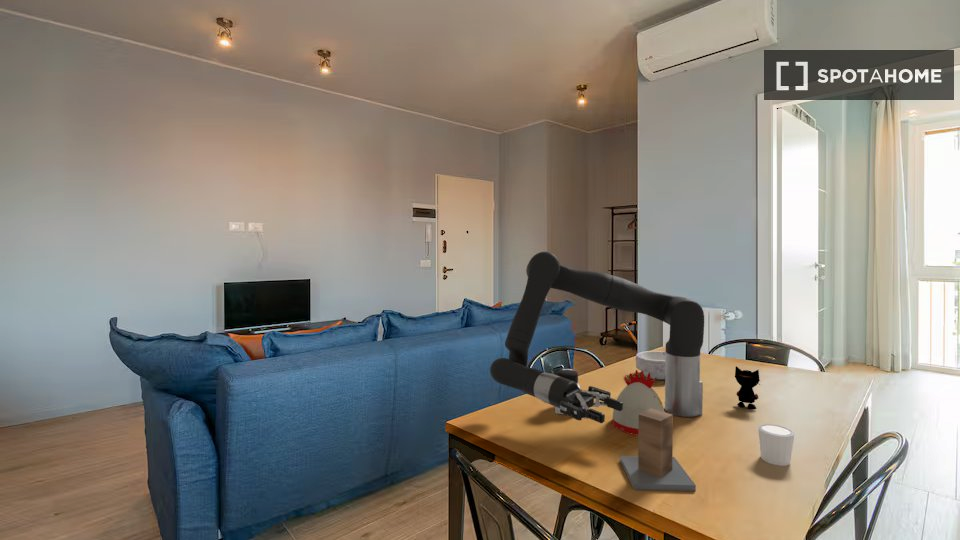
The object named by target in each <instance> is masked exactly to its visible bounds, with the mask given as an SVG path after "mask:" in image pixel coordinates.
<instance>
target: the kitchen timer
mask: <svg viewBox="0 0 960 540" xmlns="http://www.w3.org/2000/svg"><path fill="white" fill-rule="evenodd" d="M639 376H640V377H639ZM623 378H624V382H625V384H626V386H625V387H624V388H623V389H622V390H621V391H620V393H619V395H618V397H617V399H616V400H618V401H621V402H623V410H621V411H618V410H615V409H613V412H612V424H614V425H613V426H614V428H616V427H617V430H619V429H620V431H621V430H622V432H624V431H625V432H624V433H627V432H628V434H630V433H632V434H631V435H635V434H637V436H638V428H639V414H640V413H642V412H644V411H646V410H648V409H655V410H658V411H662V412H665V408H664V406H663V402H662V401H661V398H660V397H659V395H658V393H657V392H656V391H655V389H653V385H654V384H655V382H656V380H657V379H656V378H655V379H651V378H650V372H649V374H648V376H647V377H645V376H644V374H643V371H641V370H640V375H639V370H638V369H636V370H635V372H634V375H633V373H632V372H630V373H629V380H628V378H627V377H626V376H624V377H623Z"/></svg>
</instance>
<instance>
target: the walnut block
mask: <svg viewBox="0 0 960 540" xmlns="http://www.w3.org/2000/svg"><path fill="white" fill-rule="evenodd" d="M673 427H674V415H673V414H670V413H668V412H666V411H664V412H662V411H658V410H655V409H648V410H646V411H644V412H642V413H640V414H639V428H638V435H637V436H638V437H637V439H638V441H637V443H638V445H637V446H638V447H637V448H638V451H637V452H638V455H637V456H638V469H639V470H642V471H644V472H647V473H649V474H652V475H654V476H657V477H659V478H661V477H663V476H664V475H666V474H667V473H669V472H670V471H671V470H672V457H673V453H674V452H673V450H674V449H673V442H674V441H673V437H674V436H673V435H674V429H673Z"/></svg>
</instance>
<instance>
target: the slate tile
mask: <svg viewBox="0 0 960 540" xmlns="http://www.w3.org/2000/svg"><path fill="white" fill-rule="evenodd" d="M619 462H620V465H621V466H622V468H623V470H624V472H625V474H626V476H627V478H628V480H629V482H630V484H631V486H632V488H633V490H634V491H635V490H637V491H638V490H639V491H673V492H674V491H681V492H685V491H686V492H696V491H697V490H696V489H697V487H696V486H697V485H696V484H695V482H694V480H692V478H691V477H690V475H688V474H689V473H687V471H686V470H685V469H684V467H683V466H682V465H681V464H680V462H679V461H678V460H677V459H676V457H675V456H672V470H671V471H670V472H669V473H667V474H666V475H664V476H663V477H661V478H659V477H657V476H654V475H652V474H649V473H647V472H644V471H642V470H639V469H638V455H620V456H619Z"/></svg>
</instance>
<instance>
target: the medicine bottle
mask: <svg viewBox="0 0 960 540" xmlns="http://www.w3.org/2000/svg"><path fill="white" fill-rule="evenodd" d="M556 375H557V376H560V377H563V378H566V379H568V380H571V381H574V382H576V383H577V385H578V387H579V389H580V390H581V385H580V384H579V372H578V371H576V370H574V369H571V368H563V369H560V370H558V371H557V372H556ZM554 414H556V415H564V414H563V413H561V412H560V408H557V407H555V406H554ZM574 414H576V415H577V412H576V411H574Z"/></svg>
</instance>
